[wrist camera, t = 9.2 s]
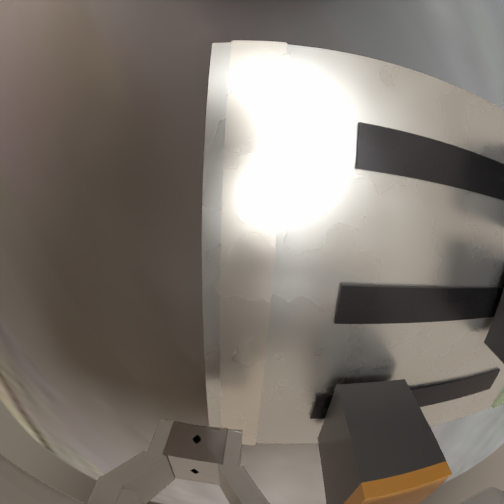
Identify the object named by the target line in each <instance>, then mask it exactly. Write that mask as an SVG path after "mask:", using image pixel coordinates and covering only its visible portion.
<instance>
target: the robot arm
mask: <svg viewBox="0 0 504 504" xmlns="http://www.w3.org/2000/svg"><path fill="white" fill-rule="evenodd" d="M242 432H243V430H240V429H228V428H220V427H210V426H202V425H201V426H199V425H193V424H187V423H181V422H176V421H171V420H166V419H161V420H160V421H159V423H158V426H157V428H156V431H155V434H154V436H153V439H152V441H151V444H150V447H149V449H148V451H142V452H141V453H139V454H138V455H136V456H135V457H133V458H131V459H130V460H128V461H127V462H125V463H123V464H122V465H120V466H118V467H117V468H115V469H113V470H112V471H110V472H108V473H107V474H105V475H103V476H101V477H100V478H99V479H98V481H97V483H96V485H95V487H94V490H93V492H92V494H91V496H90V498H89V501H88V503H87V504H146V503H147V502H148V501H150V500H151V499H152V498H153V497H154V496H156V495H157V494H158V493H159V492H160V491H162V490H163V489H164V488H165V487H166V486H167V485H169V484H170V483H171V482H172V481H173V480H174V479H175V478H179V479H185V480H192V481H198V482H204V483H210V484H217V485H220V487H221V489H222V491H223V492H224V494H225V496H226V498H227V499H228V501H229V503H230V504H270V503H269V502H268V501H267V499H266V498H265V497H264V495H263V494H262V493H261V491H260V490H259V489H258V487H257V486H256V484H255V483H254V481H253V480H252V479H251V477H250V476H249V474H248V473H247V471H246V470H245V468H244V467H243V466H240V464H241V451H242ZM0 504H85V503H83V502H81V501H79V500H76V499H74V498H72V497H70V496H68V495H66V494H64V493H62V492H60V491H59V490H56V489H55V488H53V487H51V486H49V485H48V484H46V483H44V482H42V481H41V480H39V479H37V478H36V477H34V476H32V475H31V474H29V473H28V472H26V471H25V470H23V469H22V468H20V467H19V466H17V465H16V464H14V463H13V462H11V461H10V460H9V459H7V458H6V457H5V456H3V455H2V454H0ZM455 504H504V491H502V490H499V489H497V488H494V487H488V488H486V489H483V490H482V491H480V492H478V493H476V494H474V495H472V496H470V497H468V498H466V499H464V500H462V501H460V502H458V503H455Z"/></svg>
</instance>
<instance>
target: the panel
mask: <svg viewBox="0 0 504 504" xmlns="http://www.w3.org/2000/svg"><path fill="white" fill-rule="evenodd" d="M503 289H504V110H503V109H501V108H499V107H497V106H496V105H494V104H492V103H490V102H488V101H486V100H484V99H482V98H480V97H478V96H476V95H474V94H472V93H470V92H468V91H465V90H463V89H461V88H459V87H456V86H454V85H452V84H449V83H447V82H444V81H442V80H439V79H437V78H434V77H431V76H429V75H426V74H423V73H420V72H417V71H414V70H411V69H408V68H405V67H402V66H398V65H395V64H391V63H388V62H384V61H380V60H376V59H372V58H368V57H364V56H359V55H355V54H350V53H345V52H339V51H333V50H327V49H321V48H314V47H306V46H297V45H287V42H273V41H248V40H232V42H231V43H212V50H211V61H210V71H209V83H208V96H207V110H206V126H205V144H204V166H203V197H202V305H203V337H204V359H205V377H206V393H207V407H208V420H209V426H210V427H220V428H228V429H240V430H243V432H242V445H255V446H256V443H266V444H308V443H318V436H319V433H320V430H321V428H322V425H323V422H324V420H325V417H326V414H327V411H328V408H329V405H330V402H331V399H332V396H333V393H334V390H335V387H336V384H355V383H370V382H381V381H392V380H401V379H405V380H406V382H407V384H408V386H409V388H410V390H411V391H412V393H413V395H414V397H415V399H416V401H417V403H418V405H419V407H420V408H421V410H422V412H423V414H424V416H425V418H426V420H427V422H428V424H429V426H434V425H438V424H441V423H445V422H449V421H452V420H455V419H458V418H462V417H465V416H468V415H471V414H473V413H476V412H479V411H482V410H484V409H487V408H490V407H493V408H494V407H497V406H499V405H502V404H504V364H503V362H502V361H501V360H500V359H499V358H498V357H497V356H496V355H495V354H494V353H493V352H492V351H491V350H490V349H489V348H488V346H487V345H486V344H485V343H484V341H485V338H486V336H487V334H488V331H489V329H490V326H491V324H492V321H493V318H494V316H495V313H496V310H497V307H498V305H499V302H500V299H501V296H502V293H503Z"/></svg>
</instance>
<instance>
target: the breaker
mask: <svg viewBox="0 0 504 504" xmlns="http://www.w3.org/2000/svg"><path fill="white" fill-rule="evenodd" d="M484 343H485V344H486V345H487V346H488V348H489V349H490V350H491V351H492V352H493V353H494V354H495V355H496V356H497V357H498V358H499V359H500V360H501V361H502V362H503V364H504V289H503V293H502V296H501V299H500V302H499V305H498V307H497V310H496V313H495V316H494V318H493V321H492V324H491V326H490V329H489V331H488V334H487V336H486V338H485V341H484Z"/></svg>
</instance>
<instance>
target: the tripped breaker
mask: <svg viewBox="0 0 504 504" xmlns="http://www.w3.org/2000/svg"><path fill="white" fill-rule="evenodd" d="M318 444H319V451H320V458H321V465H322V472H323V479H324V487H325V495H326V503H327V504H419V503H420V502H422V501H423V500H424V499H425V498H426V497H428V496H429V495H430V494H431V493H432V492H433V491H434V490H436V489H437V488H438V487H439V486H440V485H441V484H442V483H443V482H444V481H445V480H446V479H447V478H448V477H449V476H450V475H451V474H452V473H451V471H450V469H449V466H448V464H447V462H446V460H445V457H444V455H443V453H442V451H441V449H440V447H439V445H438V442H437V440H436V438H435V436H434V434H433V432H432V430H431V428H430V426H429V424H428V422H427V420H426V418H425V416H424V414H423V412H422V410H421V408H420V407H419V405H418V403H417V401H416V399H415V397H414V395H413V393H412V391H411V390H410V388H409V386H408V384H407V382H406V380H405V379H401V380H392V381H381V382H370V383H355V384H336V387H335V390H334V393H333V396H332V399H331V402H330V405H329V408H328V411H327V414H326V417H325V420H324V422H323V425H322V428H321V430H320V433H319V436H318Z"/></svg>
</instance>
